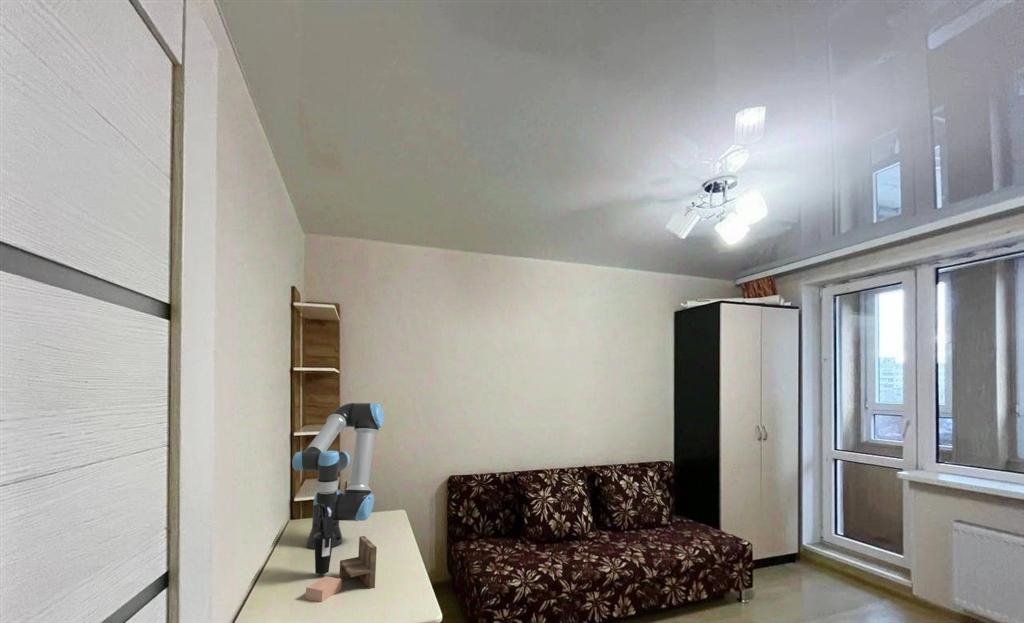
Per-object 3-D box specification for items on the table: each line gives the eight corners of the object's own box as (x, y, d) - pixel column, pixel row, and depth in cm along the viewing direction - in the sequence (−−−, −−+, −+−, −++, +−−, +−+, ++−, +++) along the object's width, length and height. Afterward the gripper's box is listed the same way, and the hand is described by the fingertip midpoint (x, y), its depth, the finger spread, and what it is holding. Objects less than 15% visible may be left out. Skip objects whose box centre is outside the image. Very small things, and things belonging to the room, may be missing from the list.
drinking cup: (336, 569, 187) (339, 516, 190) (323, 577, 180) (326, 521, 183) (321, 566, 190) (324, 514, 192) (307, 574, 182) (310, 519, 185)
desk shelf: (339, 578, 182) (341, 539, 184) (362, 573, 187) (364, 535, 189) (349, 593, 170) (352, 552, 172) (374, 587, 175) (376, 547, 177)
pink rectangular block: (305, 599, 166) (306, 587, 166) (325, 587, 175) (325, 576, 176) (321, 603, 163) (322, 590, 164) (340, 590, 173) (341, 579, 173)
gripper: (311, 487, 195) (307, 546, 192) (322, 498, 178) (318, 563, 175) (330, 485, 199) (327, 543, 196) (343, 495, 183) (339, 559, 180)
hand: (323, 552), depth 186 cm, fingers closed on drinking cup, 7 cm apart
